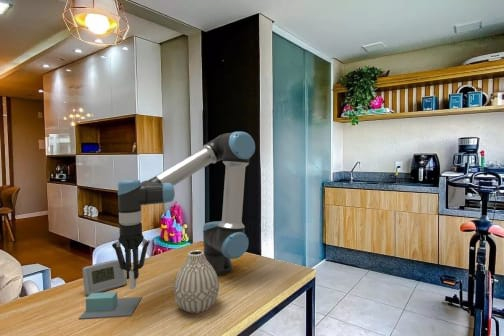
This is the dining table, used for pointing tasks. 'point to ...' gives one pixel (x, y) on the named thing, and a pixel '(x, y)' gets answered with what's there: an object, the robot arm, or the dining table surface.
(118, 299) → the mat
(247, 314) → the dining table surface
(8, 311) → the dining table surface
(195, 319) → the dining table surface
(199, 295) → the vase
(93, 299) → the block
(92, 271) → the digital clock
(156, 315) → the dining table surface
